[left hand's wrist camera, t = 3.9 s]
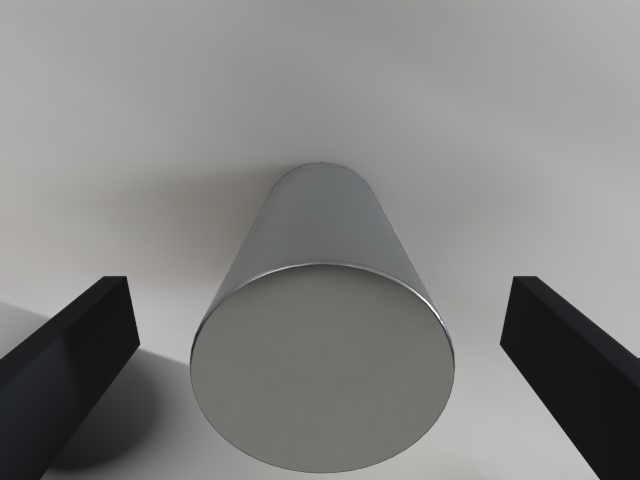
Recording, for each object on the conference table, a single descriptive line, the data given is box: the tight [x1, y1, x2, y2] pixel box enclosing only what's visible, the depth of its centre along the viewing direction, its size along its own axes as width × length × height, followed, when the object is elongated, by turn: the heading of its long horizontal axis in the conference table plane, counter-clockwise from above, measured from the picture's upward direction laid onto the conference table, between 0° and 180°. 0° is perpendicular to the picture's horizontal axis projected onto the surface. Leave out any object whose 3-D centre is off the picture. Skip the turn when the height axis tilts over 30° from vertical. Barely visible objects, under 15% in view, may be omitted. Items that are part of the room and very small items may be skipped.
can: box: [190, 163, 455, 473], centre depth 15 cm, size 7×7×13 cm
